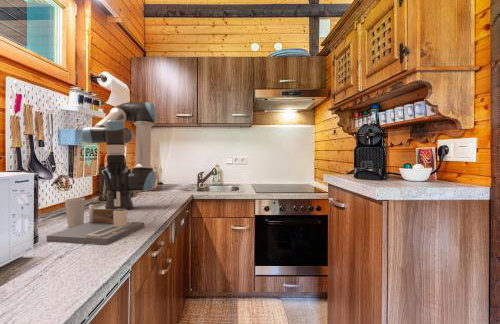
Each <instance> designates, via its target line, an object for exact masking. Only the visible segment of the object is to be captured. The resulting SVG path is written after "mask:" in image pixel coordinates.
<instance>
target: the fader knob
mask: <svg viewBox="0 0 500 324" xmlns="http://www.w3.org/2000/svg"><path fill="white" fill-rule="evenodd" d="M127 222H128V210H127V209H119V208H118V209H115V210H114V211H113V223H114V227H118V228H119V227H121V226H124V225H126V224H127Z"/></svg>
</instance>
